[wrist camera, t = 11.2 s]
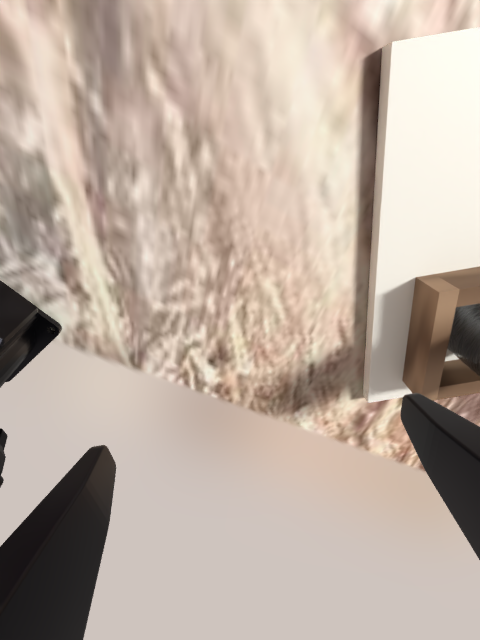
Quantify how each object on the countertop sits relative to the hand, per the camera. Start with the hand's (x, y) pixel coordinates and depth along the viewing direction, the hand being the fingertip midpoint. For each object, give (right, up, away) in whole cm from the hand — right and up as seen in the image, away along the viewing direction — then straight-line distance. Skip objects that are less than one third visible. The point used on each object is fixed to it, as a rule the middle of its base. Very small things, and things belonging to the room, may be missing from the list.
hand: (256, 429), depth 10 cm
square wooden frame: (+16, +3, +14) cm, 21 cm away
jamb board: (+15, +8, +12) cm, 21 cm away
